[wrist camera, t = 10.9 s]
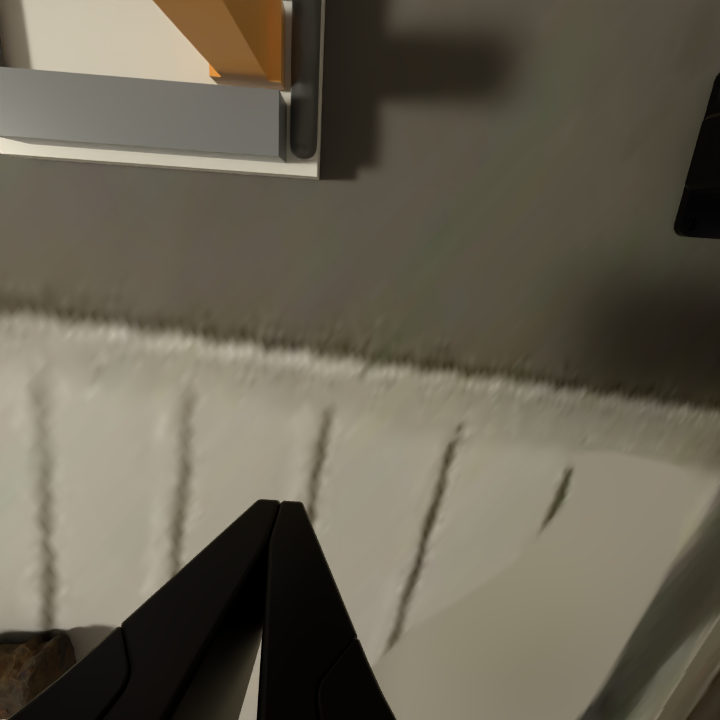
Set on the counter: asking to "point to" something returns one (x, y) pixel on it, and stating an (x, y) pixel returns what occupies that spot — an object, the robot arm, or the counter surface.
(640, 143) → the counter surface
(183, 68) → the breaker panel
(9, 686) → the dark brown rod
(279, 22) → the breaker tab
